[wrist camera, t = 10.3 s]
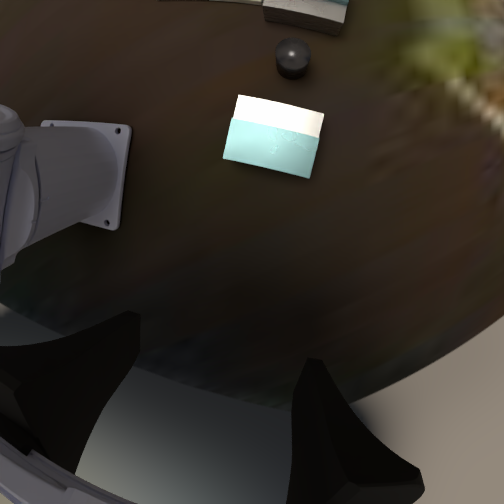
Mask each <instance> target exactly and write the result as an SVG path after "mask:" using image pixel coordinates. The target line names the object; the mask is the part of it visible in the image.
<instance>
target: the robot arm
mask: <svg viewBox="0 0 504 504" xmlns="http://www.w3.org/2000/svg"><path fill="white" fill-rule="evenodd" d="M53 124H54V126H53ZM119 128H120V129H121V132H120V134H118V129H119ZM131 133H132V129H131V127H130V126H129V125H122V124H111V123H98V122H82V121H59V120H44V121H43V122H42V124H41V127H25V126H24V124H23V123H22V122H21V120H20V118H19V116H18V114H17V113H16V112H15V111H14V110H12V109H10V108H9V107H6V106H4V105H1V104H0V270H2V269H4V268H6V267H8V266H9V265H11V264H13V263H14V261H15V257H16V254H17V253H18V252H19V251H20V250H21V249H23V248H25V247H27V246H29V245H31V244H33V243H35V242H37V241H39V240H41V239H43V238H45V237H47V236H49V235H52V234H54V233H56V232H58V231H60V230H62V229H64V228H67V227H69V226H71V225H73V224H75V223H78V222H82V223H86V224H90V225H94V226H97V227H101V228H105V229H109V230H116V229H118V227H119V225H120V215H121V205H122V195H123V186H124V178H125V171H126V164H127V157H128V151H129V145H130V139H131ZM107 220H109V223H110V224H109V225H108V224H107ZM0 279H1V271H0ZM139 352H140V314H137V313H134V312H131V311H125V312H123V313H121V314H119V315H116V316H114V317H112V318H110V319H108V320H106V321H104V322H101V323H99V324H97V325H95V326H93V327H90V328H88V329H85V330H83V331H80V332H77V333H75V334H72V335H69V336H66V337H63V338H59V339H56V340H52V341H48V342H43V343H37V344H32V345H22V346H0V493H2V494H3V495H4V496H5V497H6V498H8V499H9V500H10V501H11V502H13V503H14V504H136V503H134V502H131V501H129V500H126V499H123V498H121V497H119V496H117V495H114V494H112V493H110V492H108V491H106V490H103V489H101V488H99V487H97V486H95V485H93V484H91V483H89V482H87V481H85V480H83V479H81V478H79V477H78V476H76V475H75V472H76V469H77V466H78V463H79V461H80V458H81V455H82V453H83V450H84V448H85V445H86V443H87V440H88V438H89V436H90V434H91V432H92V430H93V428H94V425H95V423H96V422H97V419H98V418H99V415H100V414H101V412H102V410H103V408H104V407H105V405H106V403H107V402H108V400H109V399H110V398H111V396H112V395H113V393H114V392H115V391H116V389H117V388H118V386H119V385H120V383H121V382H122V381H123V379H124V378H125V376H126V375H127V374H128V372H129V370H130V369H131V368H132V366H133V364H134V362H135V360H136V358H137V356H138V354H139ZM291 415H292V466H291V474H290V482H289V488H288V495H287V501H286V504H413V503H414V502H415V501H417V500H418V499H419V498H420V497H421V496H422V494H423V493H424V491H425V487H424V483H423V479H422V475H421V472H420V470H419V468H417V467H415V466H414V465H412V464H410V463H409V462H407V461H406V460H404V459H402V458H401V457H399V456H398V455H397V454H395V453H394V452H393V451H391V450H390V449H389V448H388V447H386V446H385V445H384V444H383V443H382V442H381V441H380V440H379V439H377V438H376V437H375V436H374V435H373V434H372V433H371V432H370V431H369V430H368V429H367V428H366V426H365V425H364V424H363V423H362V422H361V421H360V419H359V418H358V417H357V416H356V415H355V413H354V412H353V411H352V409H351V408H350V407H349V405H348V404H347V402H346V401H345V399H344V398H343V396H342V394H341V393H340V391H339V390H338V388H337V386H336V385H335V383H334V381H333V379H332V378H331V376H330V374H329V372H328V370H327V368H326V367H325V365H324V363H323V361H322V360H319V359H313V358H307V361H306V363H305V365H304V368H303V370H302V373H301V375H300V377H299V380H298V382H297V385H296V387H295V389H294V393H293V401H292V411H291Z"/></svg>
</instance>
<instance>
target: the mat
mask: <svg viewBox="0 0 504 504" xmlns="http://www.w3.org/2000/svg"><path fill="white" fill-rule="evenodd" d="M211 1H227V2H238V3H247V4H255V5H262V2H263V0H211Z"/></svg>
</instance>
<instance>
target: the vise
mask: <svg viewBox="0 0 504 504" xmlns="http://www.w3.org/2000/svg"><path fill="white" fill-rule="evenodd" d="M348 2H349V0H264V2H263V5H262V6H263V12H264V19H265V21H271V22H277V23H282V24H287V25H292V26H297V27H302V28H306V29H310V30H314V31H318V32H322V33H326V34H330V35H333V36H337V35H338V33H339V31H340V29H341V27H342V25H343V23H344V19H345V13H346V8H347V5H348ZM310 57H311V50H310V48H309V46H308V45H307V43H305V42H304V41H303V40H301V39H298V38H287V39H284V40H282V41H281V42H280V43H279V44H278V45H277V47H276V66H277V70H278V72H279V74H280V75H281V76H283V77H284V78H287V79H298V78H300V77H302V76H303V75H304V74H305V72H306V70H307V67H308V63H309V60H310ZM323 117H324V114H322V113H318V112H315V111H311V110H307V109H303V108H299V107H295V106H291V105H287V104H282V103H278V102H273V101H269V100H264V99H259V98H254V97H248V96H243V95H239V96H238V100H237V105H236V109H235V113H234V117H233V118H232V119H231V124H230V128H229V132H228V137H227V142H226V146H225V151H224V155H223V158H224V159H229V160H234V161H238V162H243V163H248V164H252V165H256V166H261V167H265V168H269V169H274V170H278V171H282V172H286V173H290V174H294V175H298V176H302V177H306V178H310V174H311V170H312V166H313V162H314V158H315V154H316V150H317V146H318V142H319V134H320V129H321V125H322V121H323Z"/></svg>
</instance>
